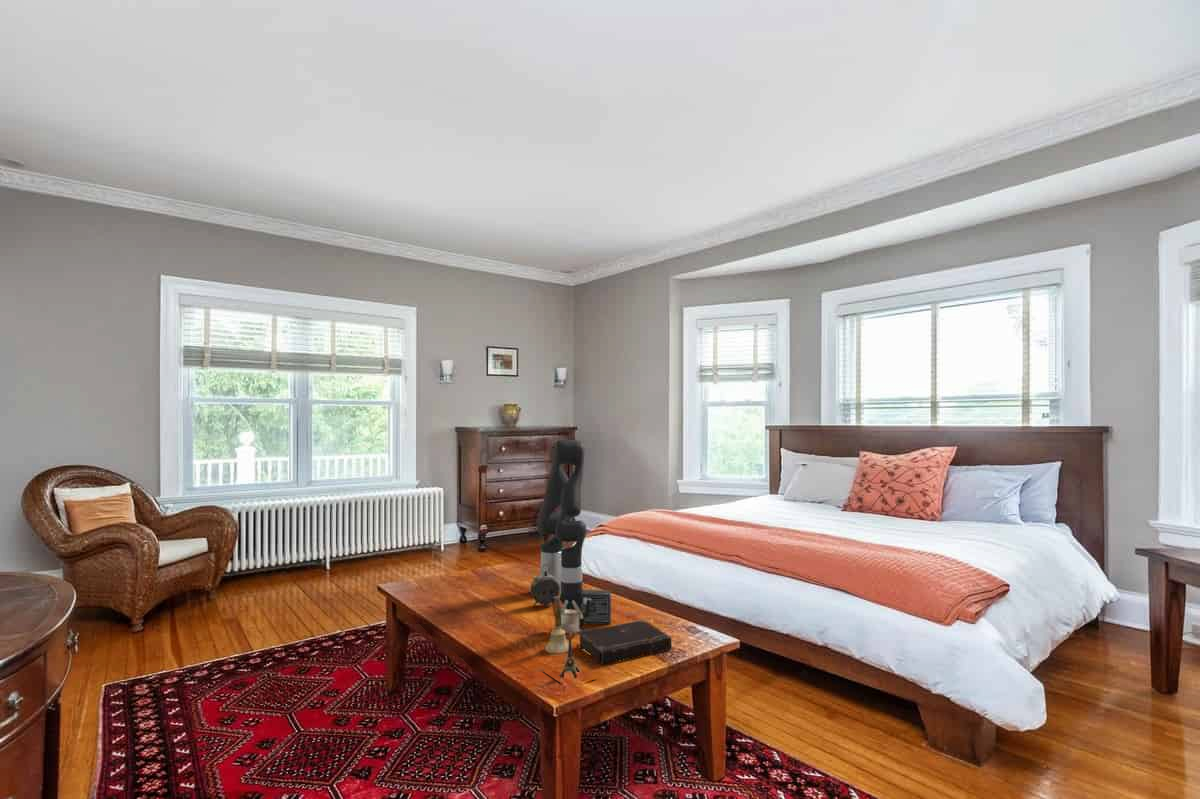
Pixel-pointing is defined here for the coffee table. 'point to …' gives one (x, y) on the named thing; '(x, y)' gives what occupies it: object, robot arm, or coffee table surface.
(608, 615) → the small box
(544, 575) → the alarm clock
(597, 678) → the coffee table surface
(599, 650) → the diary
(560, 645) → the hand bell
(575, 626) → the birch cube
